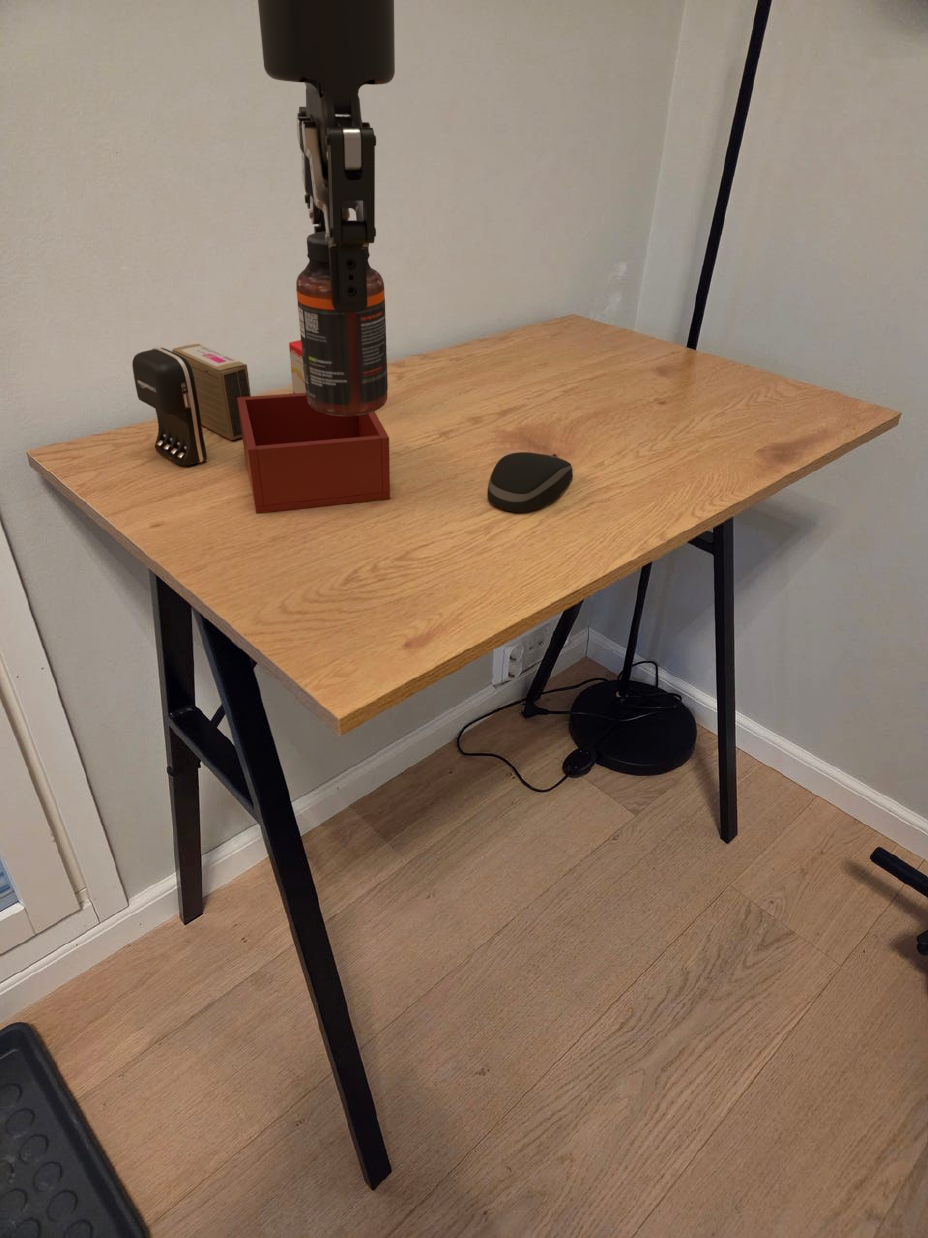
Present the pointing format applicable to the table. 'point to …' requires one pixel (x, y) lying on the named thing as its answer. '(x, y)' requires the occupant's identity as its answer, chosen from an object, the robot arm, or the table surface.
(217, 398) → the ink box
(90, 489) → the table surface
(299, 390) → the ink box
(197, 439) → the battery charger
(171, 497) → the table surface
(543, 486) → the computer mouse
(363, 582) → the table surface
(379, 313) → the supplement bottle
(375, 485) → the tote
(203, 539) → the table surface
